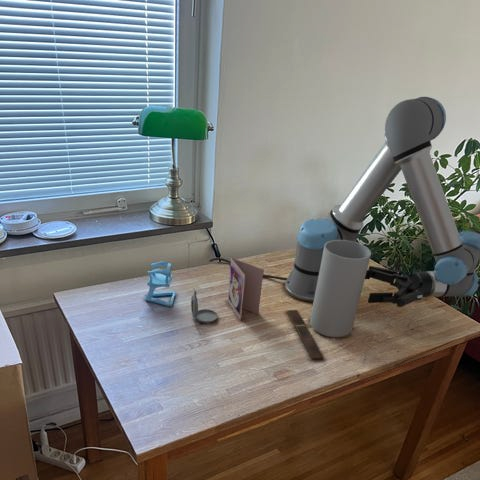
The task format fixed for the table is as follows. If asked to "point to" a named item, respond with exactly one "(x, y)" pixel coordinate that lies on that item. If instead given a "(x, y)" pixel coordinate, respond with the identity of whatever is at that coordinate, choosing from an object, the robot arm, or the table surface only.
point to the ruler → (305, 335)
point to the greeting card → (244, 287)
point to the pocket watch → (201, 311)
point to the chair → (160, 283)
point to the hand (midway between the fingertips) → (359, 286)
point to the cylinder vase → (339, 287)
